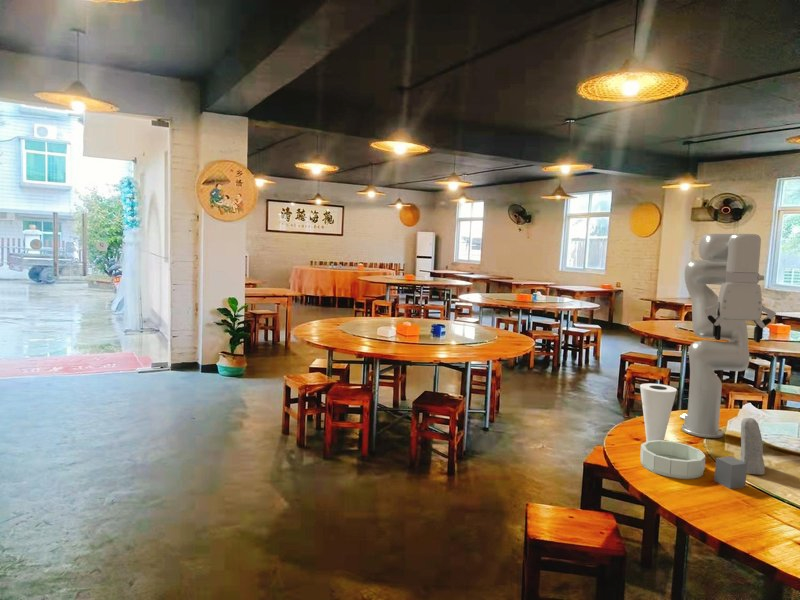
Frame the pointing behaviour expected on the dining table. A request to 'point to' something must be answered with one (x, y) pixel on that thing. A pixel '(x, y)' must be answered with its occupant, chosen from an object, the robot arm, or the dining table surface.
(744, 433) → the decorative stone
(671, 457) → the bowl
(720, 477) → the matte grey cube
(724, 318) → the robot arm
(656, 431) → the cup
